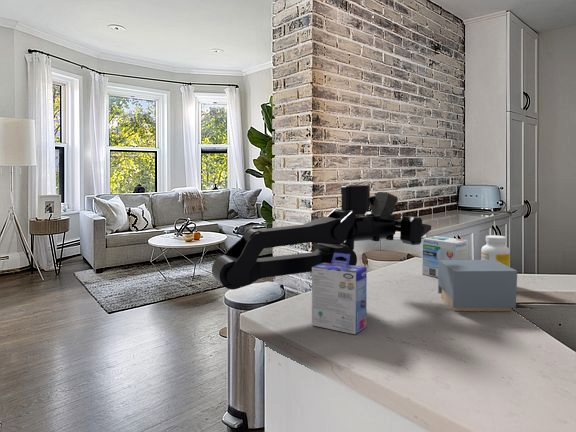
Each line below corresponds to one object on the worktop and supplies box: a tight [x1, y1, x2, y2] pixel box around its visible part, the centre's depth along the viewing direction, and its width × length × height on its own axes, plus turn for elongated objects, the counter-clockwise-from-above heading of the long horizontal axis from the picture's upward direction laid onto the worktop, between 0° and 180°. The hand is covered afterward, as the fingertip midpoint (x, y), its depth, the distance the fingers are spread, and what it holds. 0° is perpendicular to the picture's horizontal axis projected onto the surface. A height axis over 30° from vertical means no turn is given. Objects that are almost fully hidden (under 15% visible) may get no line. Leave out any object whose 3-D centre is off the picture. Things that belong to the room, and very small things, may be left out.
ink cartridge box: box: [311, 253, 368, 335], centre depth 81 cm, size 10×6×14 cm, turn 57°
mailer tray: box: [440, 288, 512, 312], centre depth 93 cm, size 12×9×3 cm
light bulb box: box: [421, 235, 469, 279], centre depth 117 cm, size 11×7×11 cm, turn 37°
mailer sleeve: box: [437, 259, 518, 309], centre depth 92 cm, size 13×11×8 cm
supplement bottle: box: [480, 234, 511, 267], centre depth 107 cm, size 7×7×13 cm
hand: (417, 225), depth 104 cm, fingers open, 9 cm apart
